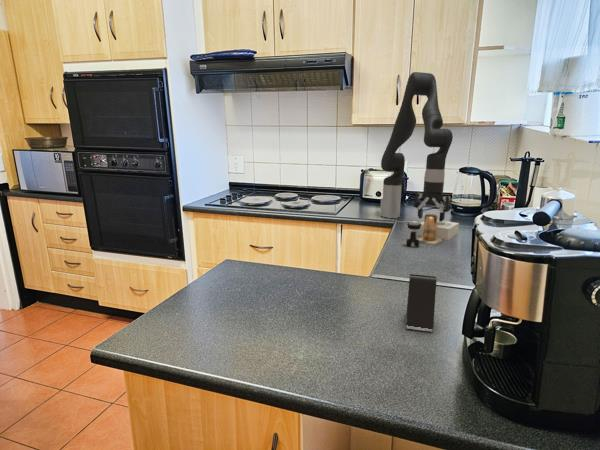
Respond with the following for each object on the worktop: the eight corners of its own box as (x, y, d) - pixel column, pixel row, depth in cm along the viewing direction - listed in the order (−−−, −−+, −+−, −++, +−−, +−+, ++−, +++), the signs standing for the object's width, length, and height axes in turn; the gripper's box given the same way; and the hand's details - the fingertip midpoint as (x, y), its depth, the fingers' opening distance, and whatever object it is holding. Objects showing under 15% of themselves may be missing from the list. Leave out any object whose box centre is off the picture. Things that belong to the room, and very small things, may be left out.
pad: (415, 241, 160) (415, 239, 160) (423, 237, 166) (423, 235, 166) (434, 245, 155) (434, 243, 155) (441, 241, 161) (442, 239, 161)
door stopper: (406, 312, 99) (410, 268, 96) (431, 315, 97) (435, 270, 94) (405, 329, 90) (409, 281, 88) (432, 333, 89) (437, 284, 86)
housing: (417, 234, 170) (418, 223, 169) (429, 229, 180) (430, 218, 179) (447, 240, 162) (448, 228, 161) (457, 234, 172) (459, 223, 171)
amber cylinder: (420, 239, 161) (422, 215, 158) (425, 237, 164) (427, 213, 162) (432, 241, 157) (435, 217, 155) (437, 239, 161) (439, 215, 159)
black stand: (402, 247, 153) (404, 222, 150) (401, 243, 158) (403, 219, 155) (419, 248, 151) (422, 223, 149) (418, 244, 156) (420, 220, 154)
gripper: (455, 180, 153) (451, 220, 157) (420, 177, 162) (417, 215, 166) (448, 182, 148) (444, 224, 152) (413, 179, 156) (410, 218, 160)
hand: (430, 219), depth 159 cm, fingers open, 8 cm apart
